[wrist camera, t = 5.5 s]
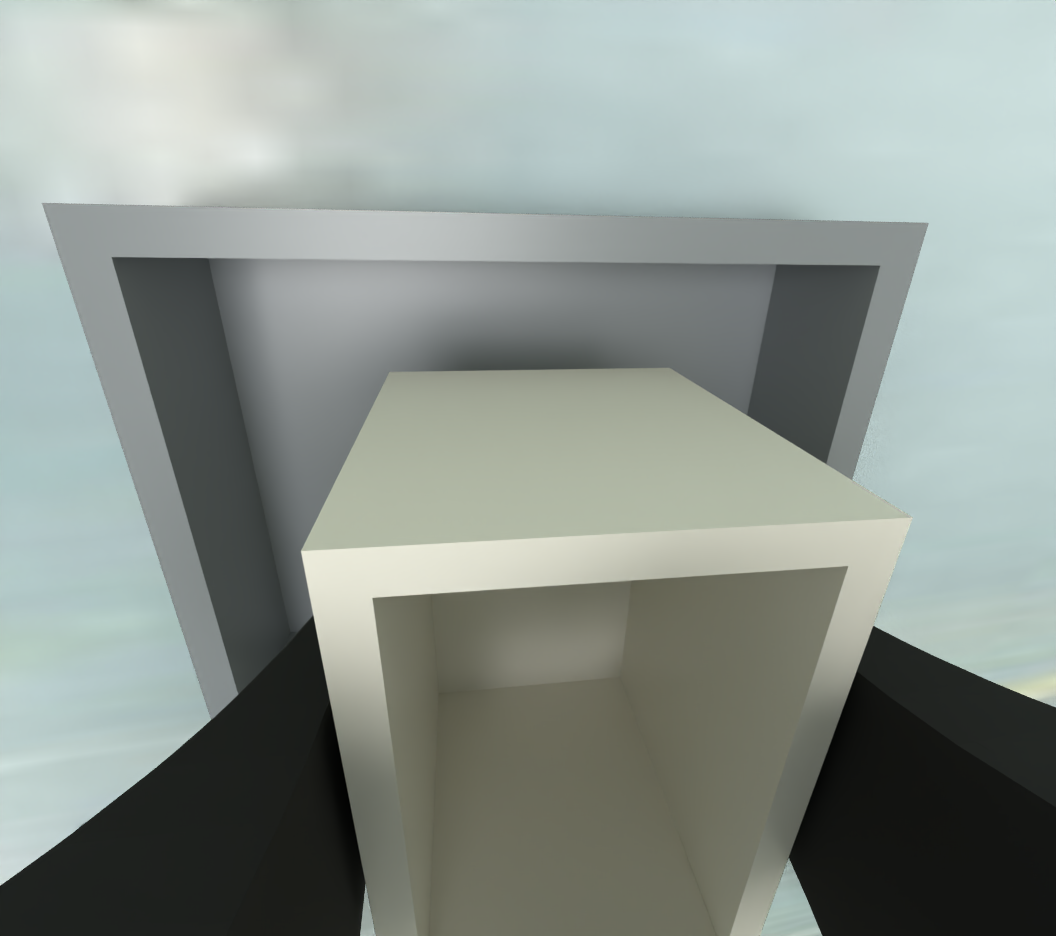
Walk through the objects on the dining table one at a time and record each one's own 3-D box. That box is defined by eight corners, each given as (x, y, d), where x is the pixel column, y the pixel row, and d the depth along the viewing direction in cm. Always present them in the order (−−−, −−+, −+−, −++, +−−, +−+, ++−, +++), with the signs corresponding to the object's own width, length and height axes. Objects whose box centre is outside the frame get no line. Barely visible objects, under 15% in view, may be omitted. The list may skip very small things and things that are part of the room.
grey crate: (717, 603, 20) (786, 698, 16) (276, 636, 18) (222, 755, 14) (794, 226, 14) (928, 222, 10) (177, 214, 12) (42, 203, 8)
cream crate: (630, 671, 13) (748, 966, 8) (420, 690, 13) (392, 1024, 7) (669, 367, 10) (913, 517, 5) (389, 372, 10) (302, 550, 4)
